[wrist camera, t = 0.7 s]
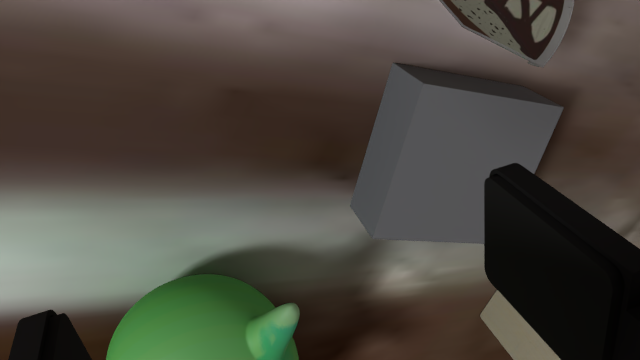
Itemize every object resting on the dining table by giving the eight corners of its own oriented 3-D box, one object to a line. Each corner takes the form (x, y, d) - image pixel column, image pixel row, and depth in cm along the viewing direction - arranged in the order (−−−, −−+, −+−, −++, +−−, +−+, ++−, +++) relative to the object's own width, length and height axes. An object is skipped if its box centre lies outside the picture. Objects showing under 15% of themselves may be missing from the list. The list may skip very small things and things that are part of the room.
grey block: (391, 61, 46) (423, 83, 41) (521, 85, 51) (563, 107, 46) (348, 203, 51) (372, 238, 46) (469, 212, 57) (502, 244, 52)
